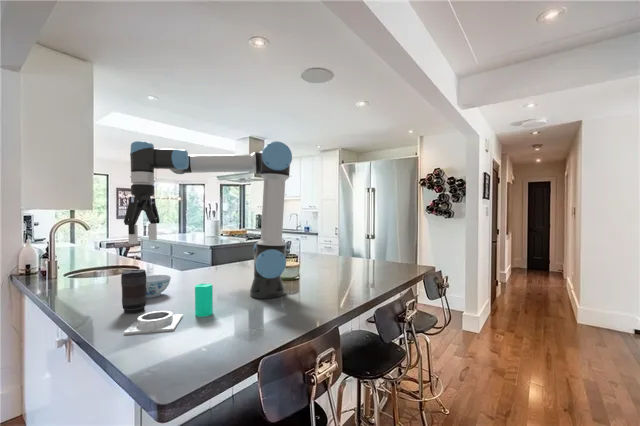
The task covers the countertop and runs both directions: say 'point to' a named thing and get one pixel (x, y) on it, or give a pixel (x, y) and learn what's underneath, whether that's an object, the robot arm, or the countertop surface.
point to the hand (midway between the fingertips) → (143, 242)
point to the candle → (203, 300)
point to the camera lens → (133, 291)
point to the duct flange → (154, 323)
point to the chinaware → (156, 284)
